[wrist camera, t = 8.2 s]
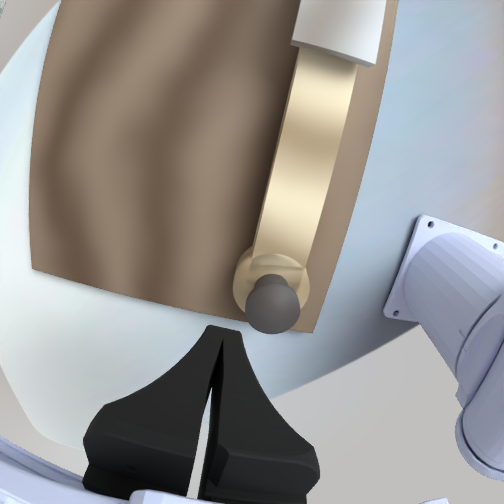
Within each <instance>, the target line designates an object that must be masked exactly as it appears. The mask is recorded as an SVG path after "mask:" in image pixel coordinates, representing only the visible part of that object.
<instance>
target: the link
mask: <svg viewBox="0 0 504 504" xmlns="http://www.w3.org/2000/svg"><path fill="white" fill-rule="evenodd" d="M357 68H358V64H357V63H354V62H350V61H347V60H344V59H341V58H338V57H334V56H331V55H327V54H324V53H320V52H317V51H313V50H309V49H305V48H301V47H299V51H298V56H297V60H296V64H295V68H294V72H293V77H292V81H291V85H290V89H289V94H288V98H287V102H286V106H285V111H284V115H283V119H282V123H281V128H280V132H279V136H278V140H277V145H276V149H275V153H274V157H273V162H272V166H271V170H270V174H269V179H268V183H267V187H266V191H265V195H264V200H263V204H262V208H261V212H260V217H259V221H258V225H257V229H256V234H255V238H254V242H253V246H252V247H250V248H249V249H247V250H246V251H245V252H244V253H243V254H242V255H241V257H240V259H239V260H238V263H237V266H236V270H235V276H234V282H233V294H234V298H235V301H236V303H237V304H238V306H239V307H240V308H241V310H242V311H243V312H245V316H246V319H247V321H248V322H249V324H250V325H251V326H252V327H253V328H254V329H256V330H257V331H259V332H262V333H266V334H278V333H282V332H285V331H287V330H289V329H290V328H291V327H293V326H294V325H295V323H296V322H297V321H298V319H299V316H300V309H301V308H302V307H303V306H304V304H305V303H306V301H307V299H308V296H309V292H310V283H309V278H308V275H307V271H306V268H305V267H306V263H307V260H308V257H309V253H310V250H311V247H312V243H313V240H314V237H315V233H316V230H317V226H318V223H319V219H320V216H321V212H322V209H323V205H324V202H325V198H326V194H327V191H328V187H329V183H330V180H331V176H332V172H333V168H334V164H335V161H336V157H337V153H338V149H339V145H340V141H341V137H342V133H343V129H344V125H345V121H346V116H347V112H348V108H349V104H350V99H351V95H352V91H353V86H354V82H355V77H356V73H357Z"/></svg>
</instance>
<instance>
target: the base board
mask: <svg viewBox="0 0 504 504" xmlns="http://www.w3.org/2000/svg"><path fill="white" fill-rule="evenodd" d="M397 7H398V0H62V1H61V4H60V7H59V10H58V13H57V16H56V20H55V23H54V27H53V30H52V34H51V37H50V41H49V45H48V49H47V53H46V57H45V62H44V66H43V71H42V76H41V81H40V87H39V93H38V99H37V105H36V112H35V119H34V128H33V137H32V148H31V162H30V183H29V226H30V248H31V262H32V269H35V270H38V271H41V272H44V273H48V274H51V275H54V276H58V277H61V278H64V279H68V280H71V281H75V282H78V283H82V284H86V285H89V286H93V287H96V288H100V289H104V290H108V291H111V292H115V293H119V294H123V295H127V296H131V297H135V298H139V299H143V300H147V301H151V302H155V303H160V304H164V305H168V306H173V307H177V308H181V309H186V310H190V311H195V312H200V313H204V314H209V315H214V316H219V317H224V318H229V319H234V320H239V321H244V322H248V321H247V319H246V316H245V312H243V311H242V310H241V308H240V307H239V306H238V304H237V303H236V301H235V298H234V294H233V282H234V276H235V270H236V266H237V263H238V260H239V259H240V257H241V255H242V254H243V253H244V252H245V251H246V250H247V249H249V248H250V247H252V246H253V242H254V238H255V234H256V229H257V225H258V221H259V217H260V212H261V208H262V204H263V200H264V195H265V191H266V187H267V183H268V179H269V174H270V170H271V166H272V162H273V157H274V153H275V149H276V145H277V140H278V136H279V132H280V128H281V123H282V119H283V115H284V111H285V106H286V102H287V98H288V94H289V89H290V85H291V81H292V77H293V72H294V68H295V64H296V60H297V56H298V51H299V47H301V48H305V49H309V50H313V51H317V52H320V53H324V54H327V55H331V56H334V57H338V58H341V59H344V60H347V61H350V62H354V63H357V64H358V68H357V73H356V77H355V82H354V86H353V91H352V95H351V99H350V104H349V108H348V112H347V116H346V121H345V125H344V129H343V133H342V137H341V141H340V145H339V149H338V153H337V157H336V161H335V164H334V168H333V172H332V176H331V180H330V183H329V187H328V191H327V194H326V198H325V202H324V205H323V209H322V212H321V216H320V219H319V223H318V226H317V230H316V233H315V237H314V240H313V243H312V247H311V250H310V253H309V257H308V260H307V263H306V267H305V268H306V271H307V275H308V278H309V283H310V292H309V296H308V299H307V301H306V303H305V304H304V306H303V307H302V308H301V309H300V316H299V319H298V321H297V322H296V323H295V325H294V326H293V327H291V328H290V329H289V330H295V331H301V332H307V333H313V330H314V327H315V325H316V322H317V319H318V317H319V314H320V311H321V308H322V305H323V303H324V300H325V297H326V294H327V291H328V288H329V285H330V282H331V279H332V276H333V273H334V270H335V267H336V264H337V261H338V258H339V255H340V252H341V249H342V246H343V242H344V239H345V236H346V233H347V229H348V226H349V223H350V219H351V216H352V213H353V209H354V206H355V202H356V199H357V195H358V192H359V188H360V184H361V181H362V177H363V173H364V169H365V166H366V162H367V158H368V154H369V150H370V146H371V142H372V138H373V134H374V129H375V125H376V121H377V116H378V112H379V107H380V103H381V98H382V93H383V88H384V83H385V78H386V73H387V68H388V63H389V57H390V51H391V46H392V40H393V34H394V27H395V21H396V14H397Z"/></svg>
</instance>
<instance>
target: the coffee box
mask: <svg viewBox="0 0 504 504" xmlns="http://www.w3.org/2000/svg"><path fill="white" fill-rule="evenodd" d="M5 3H6V1H5V0H0V16H1V14H2V11H3V9H4V6H5Z"/></svg>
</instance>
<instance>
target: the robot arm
mask: <svg viewBox="0 0 504 504" xmlns="http://www.w3.org/2000/svg"><path fill="white" fill-rule="evenodd" d="M430 221H431V225H430V226H429V227H428V223H429V222H430ZM494 244H495V246H494V247H493V245H494ZM503 256H504V243H503V242H501V241H499V240H496V239H493V238H491V237H488V236H485V235H483V234H480V233H477V232H475V231H472V230H469V229H466V228H463V227H460V226H458V225H455V224H452V223H449V222H446V221H443V220H440V219H437V218H434V217H431V216H428V215H420V216H419V217H418V219H417V222H416V225H415V228H414V231H413V234H412V237H411V240H410V243H409V246H408V248H407V251H406V254H405V257H404V259H403V262H402V265H401V267H400V270H399V273H398V275H397V278H396V280H395V283H394V285H393V288H392V290H391V293H390V295H389V298H388V300H387V302H386V305H385V307H384V310H383V313H384V315H385V316H386V317H387V318H393V319H399V320H406V321H413V322H419V323H420V325H421V326H422V328H423V329H424V330H425V332H426V333H427V335H428V336H429V338H430V339H431V341H432V342H433V344H434V345H435V347H436V348H437V350H438V351H439V353H440V354H441V356H442V357H443V359H444V360H445V362H446V363H447V365H448V366H449V368H450V370H451V371H452V373H453V374H454V376H455V378H456V379H457V381H458V383H459V387H458V391H457V393H456V397H457V399H458V401H459V403H460V404H461V406H462V408H463V410H462V411H461V413H460V415H459V417H458V419H457V422H456V426H455V437H456V442H457V445H458V448H459V450H460V452H461V454H462V456H463V457H464V459H465V460H466V461H467V463H468V464H469V465H470V466H471V467H472V468H474V469H475V470H476V471H477V472H479V473H480V474H482V475H484V476H486V477H489V478H491V479H495V480H500V481H504V257H503ZM396 310H398V311H397V312H396V313H394V311H396ZM393 313H394V314H393ZM211 387H212V394H211V407H210V422H209V434H208V442H207V447H206V452H205V458H204V464H203V470H202V475H201V481H200V486H199V492H198V497H197V499H193V498H188V497H186V496H187V492H188V488H189V483H190V478H191V474H192V470H193V465H194V460H195V456H196V451H197V445H198V440H199V434H200V428H201V422H202V417H203V413H204V410H205V407H206V404H207V400H208V397H209V394H210V391H211ZM83 445H84V448H85V452H86V455H87V458H88V461H89V465H88V468H87V470H86V472H85V475H84V477H82V476H80V475H77V474H74V473H72V472H70V471H68V470H65V469H63V468H61V467H59V466H57V465H54V464H52V463H50V462H48V461H46V460H44V459H42V458H40V457H38V456H36V455H34V454H32V453H30V452H28V451H26V450H25V449H23V448H21V447H19V446H17V445H16V444H14V443H12V442H10V441H9V440H7V439H5V438H3V437H2V436H0V504H307V501H306V500H307V499H306V494H307V493H308V492H309V491H310V490H311V489H312V487H314V486H315V484H316V483H317V482H318V480H319V479H320V468H319V463H318V459H317V456H316V453H315V450H314V447H313V446H312V445H311V444H310V443H308V442H307V441H306V440H305V439H304V438H302V437H301V436H300V435H299V434H298V433H296V432H295V431H294V430H293V429H292V428H291V427H290V426H289V425H288V423H287V422H285V420H284V419H283V418H282V416H281V415H280V414H279V413H278V412H277V411H276V409H275V408H274V406H273V405H272V404H271V402H270V401H269V399H268V398H267V396H266V394H265V393H264V391H263V389H262V388H261V386H260V384H259V382H258V380H257V378H256V376H255V374H254V372H253V369H252V367H251V365H250V362H249V359H248V357H247V354H246V351H245V347H244V344H243V339H242V334H241V333H240V331H236V330H231V329H227V328H222V327H218V326H213V325H208V326H207V327H206V329H205V331H204V332H203V334H202V336H201V337H200V338H199V340H198V341H197V342H196V344H195V345H194V346H193V347H192V348H191V349H190V351H189V352H188V353H187V354H186V355H185V356H184V357H183V358H182V359H181V360H180V361H179V362H178V363H177V364H176V365H175V366H173V367H172V368H171V369H170V370H169V371H167V372H166V373H165V374H164V375H162V376H161V377H159V378H158V379H157V380H155V381H154V382H152V383H151V384H149V385H147V386H146V387H144V388H142V389H140V390H138V391H136V392H134V393H132V394H130V395H129V396H126V397H124V398H122V399H119V400H116V401H114V402H111V403H108V404H105V405H104V406H103V407H102V408H101V409H100V411H99V412H98V413H97V415H96V416H95V417H94V419H93V420H92V422H91V423H90V425H89V427H88V429H87V432H86V434H85V436H84V438H83ZM420 504H449V503H448V500H447V498H446V497H444V498H439V499H434V500H429V501H426V502H423V503H420Z"/></svg>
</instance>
